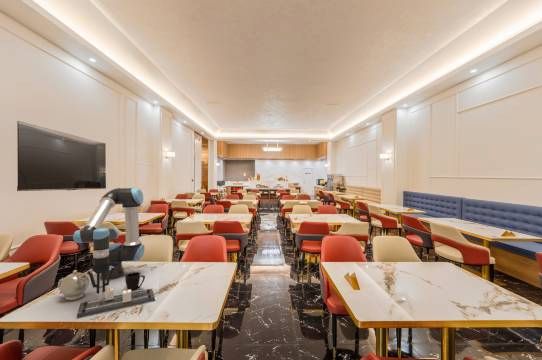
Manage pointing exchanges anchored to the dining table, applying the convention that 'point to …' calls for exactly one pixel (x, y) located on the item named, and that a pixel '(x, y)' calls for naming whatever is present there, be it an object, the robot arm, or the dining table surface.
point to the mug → (133, 281)
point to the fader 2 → (126, 295)
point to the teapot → (73, 285)
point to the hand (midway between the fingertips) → (100, 298)
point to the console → (114, 303)
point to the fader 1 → (109, 294)
